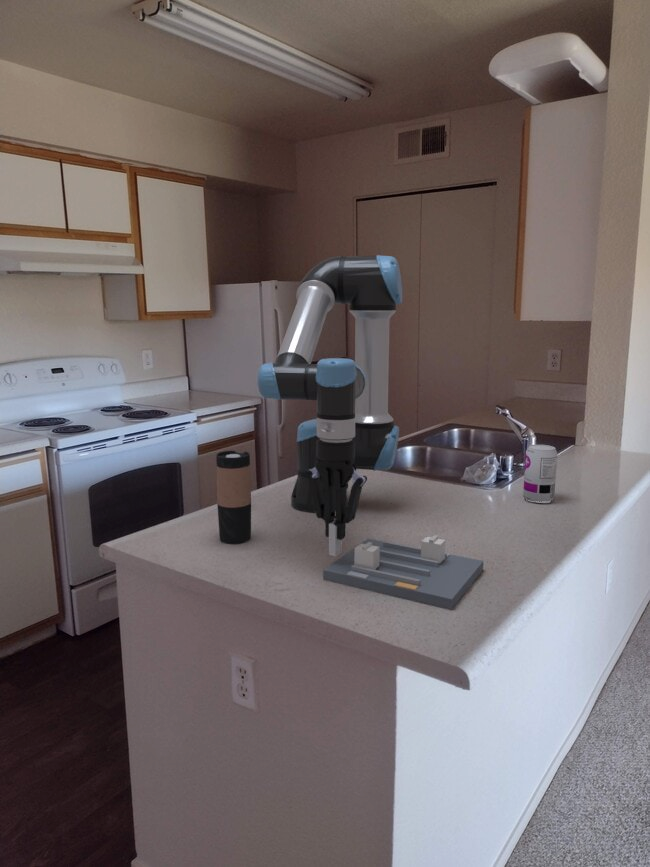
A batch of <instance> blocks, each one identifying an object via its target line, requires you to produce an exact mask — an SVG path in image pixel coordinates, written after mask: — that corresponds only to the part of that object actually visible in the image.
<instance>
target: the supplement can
mask: <svg viewBox="0 0 650 867" xmlns="http://www.w3.org/2000/svg"><path fill="white" fill-rule="evenodd" d="M524 460H525V461H524V476H523V491H522V497H523V499H527V500H530V501H539V502H540V501H541V502H542V501H550V500H553V499H554V500H555V491H556V480H557V479H556V478H557V464H558V451H557V449H556V447H555V446H552V445H548V444H530V445H528V447H527V449H526V451H525V459H524ZM554 500H553V501H554Z"/></svg>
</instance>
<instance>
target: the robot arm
mask: <svg viewBox="0 0 650 867" xmlns="http://www.w3.org/2000/svg"><path fill="white" fill-rule="evenodd" d="M402 283H403V282H402V276H401V270H400V265H399V262H398V260H397V259H396V258H395V257H394V256H390V255H380V254H377V255H351V256H350V255H349V256H343V255H338V256H332V257H329V258H327V259H325V260H323V261H320V262H319V263H318V264H316V265H315V266H313V267H312V268H311V269H310V270H309V271H308V272H307V273H306V274H305V275H304V276H303V278H302V280H301V281H300V283H299V285H298V288H297V290H296V294H295V295H296V296H295V297H296V301H297V302H296V305H295V308H294V310H293V313H292V314H291V315H292V316H291V318H290V321H289V323H288V326H287V330H286V331H285V335H284V338H283V341H281V345H280V348H279V350H278V353H277V356H276V359H275V361H274V363H273V362H268V363H267V362H266V363H263V364H262V365H261V366H260V367H259V369H258V373H257V387H258V392H259V395H261V396H262V397H263V398H264V399H270V400H271V399H272V400H279V401H281V400H286V401H287V400H290V401H291V400H293V401H301V400H302V401H316V418H313V419H309V420H305V421H303V422H302V423H299V425H298V427H297V436H296V437H297V438H296V447H297V448H296V452H297V453H296V454H297V458H296V460H297V462H296V463H297V468H296V469H297V478H296V480H295V483H294V487H293V489H292V493H291V498H290V501H291V502H290V505H291V507H292V508H294V509H296V510H299V511H301V512H302V511H303V512H309V513H315V514H316V518H317V519H322V520H323V521H324V524H325V526H324V527H325V531H324V532H325V534H324V535H325V537H326V538H328V556H332V557H336V556H338V555H340V554H341V553H342V552H343V550H342V548H343V547H342V546H343V541H342V540H343V539H345V537H346V530H347V529H346V524H349V523H351V522H352V521H354V520H355V518H356V515H357V511H358V506H359V501H360V498H361V494H362V491H363V490H362V489H363V487H364V485H365V483H366V482H367V481H368V476H367V475H361V473H359V472H358V471H357V470H366V471H367V470H370V471H373V472H374V471H388V470H390V469H391V468H392V467H394V466H393V465H394V462H395V458H396V455H397V450H398V444H399V438H400V427H399V426H397V425H394V418H393V417H392V416H391V414H389V375H390V373H389V365H390V358H389V357H390V322H391V321H390V320H391V317H392V316H394V314H395V313H396V312H397V306H399V305H400V304H402V303H403V286H402V285H403V284H402ZM337 304H338V305H339V304H341V305H349V313H350V314H351V315H352V316H353V317H354V319H355V326H354V327H355V329H354V332H355V333H354V335H355V337H354V338H355V339H354V340H355V341H354V344H355V345H354V352H355V353H354V360H353V359H350V358H343V357H342V358H341V357H336V358H335V357H333V358H331V357H330V358H322V359H320V360H319V361H318V362H317V364H314V363H313V364H312V361H313V358H314V355H315V351H316V349H317V346H318V342H319V339H320V336H321V334H322V330H323V326H324V324H325V321H326V317H327V314H328V312H330V311H331V310H332V309H333V307H334V305H337ZM351 479H352V481H351V484H352V486H351V489H350V491H349V496H348V488H349V482H350V480H351Z"/></svg>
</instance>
